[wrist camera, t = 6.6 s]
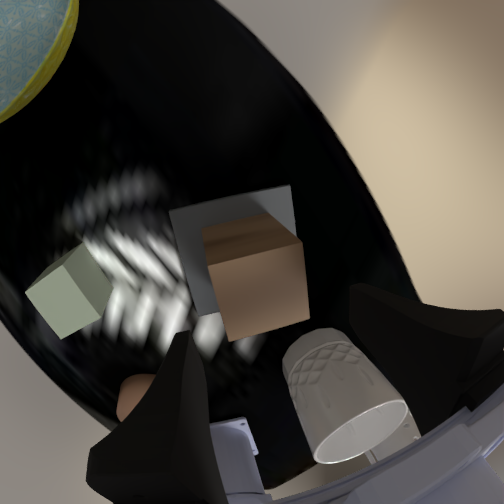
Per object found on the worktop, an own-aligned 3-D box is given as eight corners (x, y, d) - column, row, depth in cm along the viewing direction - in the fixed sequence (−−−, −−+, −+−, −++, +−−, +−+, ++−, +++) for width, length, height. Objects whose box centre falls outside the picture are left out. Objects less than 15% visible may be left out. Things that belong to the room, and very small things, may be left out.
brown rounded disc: (190, 407, 25) (192, 430, 22) (136, 415, 24) (135, 437, 21) (168, 367, 22) (168, 392, 20) (109, 377, 22) (104, 401, 19)
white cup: (324, 306, 23) (389, 387, 14) (364, 344, 26) (418, 411, 17) (257, 365, 24) (292, 458, 15) (307, 392, 27) (344, 467, 18)
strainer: (343, 415, 31) (394, 504, 17) (329, 391, 28) (391, 498, 14) (388, 386, 31) (449, 466, 17) (382, 358, 28) (458, 452, 15)
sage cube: (113, 287, 19) (100, 317, 15) (77, 308, 19) (61, 339, 15) (83, 241, 17) (62, 264, 14) (47, 267, 17) (24, 292, 14)
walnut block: (278, 272, 21) (309, 318, 15) (216, 288, 20) (229, 341, 15) (268, 212, 19) (302, 242, 13) (201, 228, 18) (207, 266, 13)
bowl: (23, 165, 14) (-29, 178, 9) (-37, 84, 10) (-83, 80, 4) (135, 38, 13) (114, -4, 7) (56, -26, 8) (28, -60, 3)
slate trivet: (299, 287, 22) (301, 290, 22) (198, 312, 21) (198, 316, 20) (287, 184, 19) (290, 185, 18) (169, 210, 18) (168, 211, 17)
